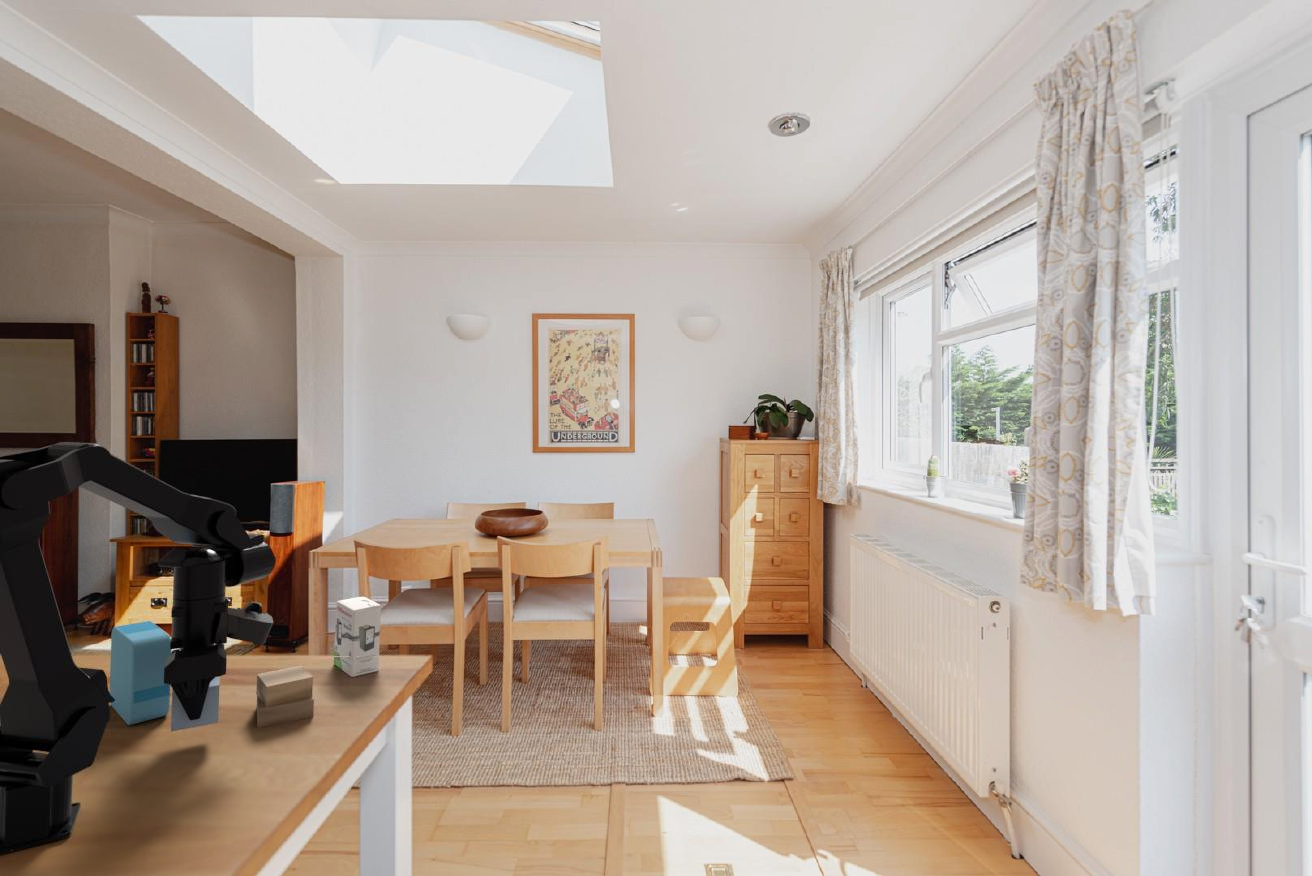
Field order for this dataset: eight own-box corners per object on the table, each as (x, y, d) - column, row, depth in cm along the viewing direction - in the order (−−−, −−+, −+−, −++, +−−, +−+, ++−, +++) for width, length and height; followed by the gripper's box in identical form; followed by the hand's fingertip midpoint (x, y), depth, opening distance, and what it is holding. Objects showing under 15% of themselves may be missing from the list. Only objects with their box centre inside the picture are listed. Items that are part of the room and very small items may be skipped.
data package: (169, 718, 91) (172, 635, 91) (129, 729, 88) (132, 643, 88) (146, 695, 99) (148, 618, 99) (108, 704, 95) (111, 624, 95)
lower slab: (313, 719, 93) (313, 699, 93) (257, 730, 89) (258, 709, 89) (309, 702, 99) (309, 683, 99) (256, 711, 95) (257, 691, 95)
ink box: (332, 664, 114) (334, 599, 114) (360, 658, 118) (362, 595, 118) (351, 678, 108) (353, 609, 108) (380, 671, 112) (382, 604, 112)
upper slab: (312, 696, 94) (313, 676, 94) (266, 707, 90) (266, 686, 90) (300, 684, 99) (301, 665, 99) (256, 694, 94) (257, 674, 94)
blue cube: (218, 722, 84) (219, 685, 84) (170, 731, 81) (172, 692, 81) (218, 708, 88) (219, 672, 88) (173, 716, 85) (174, 679, 85)
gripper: (275, 604, 81) (270, 725, 81) (265, 575, 97) (262, 677, 97) (165, 615, 75) (161, 747, 75) (174, 583, 90) (170, 692, 90)
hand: (195, 711), depth 84 cm, fingers closed on blue cube, 5 cm apart
